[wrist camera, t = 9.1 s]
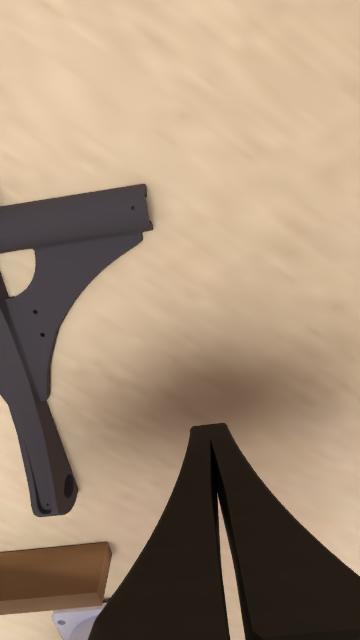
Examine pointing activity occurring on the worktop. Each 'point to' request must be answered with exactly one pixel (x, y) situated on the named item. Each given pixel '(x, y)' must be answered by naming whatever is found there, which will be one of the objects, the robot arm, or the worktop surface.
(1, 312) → the bracket
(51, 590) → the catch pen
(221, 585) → the robot arm
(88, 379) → the worktop surface
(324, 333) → the worktop surface
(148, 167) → the worktop surface
